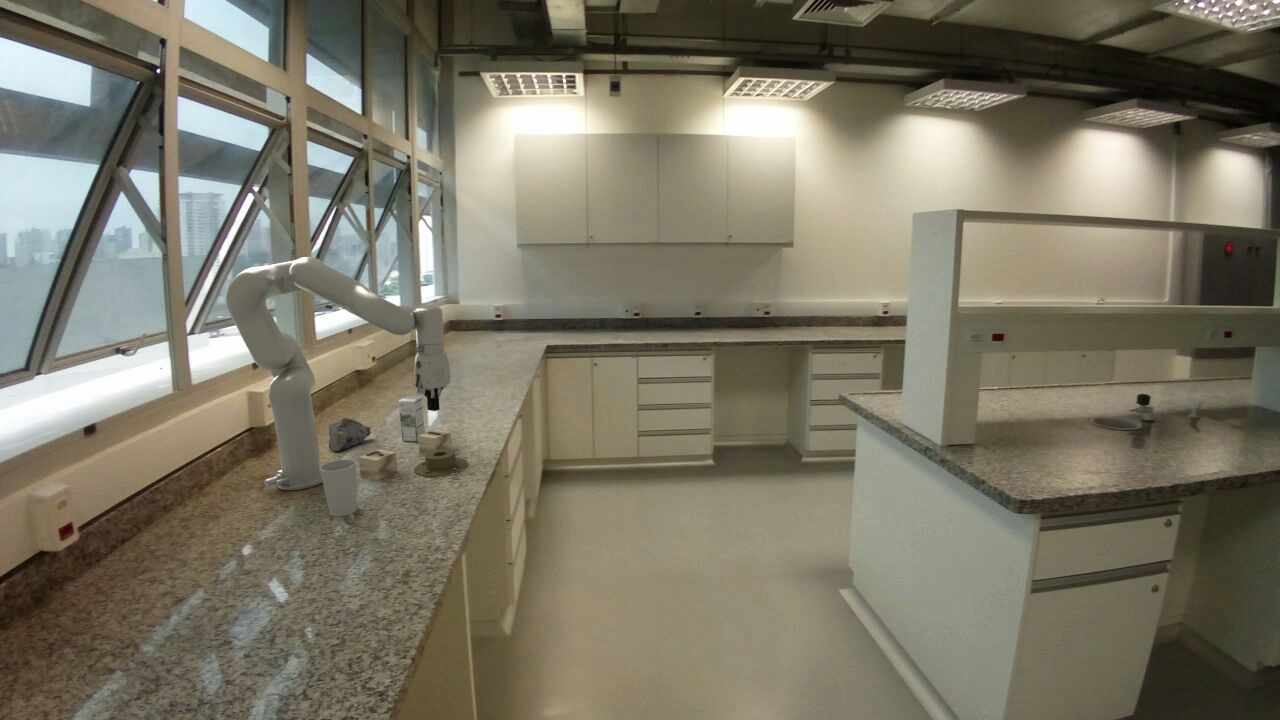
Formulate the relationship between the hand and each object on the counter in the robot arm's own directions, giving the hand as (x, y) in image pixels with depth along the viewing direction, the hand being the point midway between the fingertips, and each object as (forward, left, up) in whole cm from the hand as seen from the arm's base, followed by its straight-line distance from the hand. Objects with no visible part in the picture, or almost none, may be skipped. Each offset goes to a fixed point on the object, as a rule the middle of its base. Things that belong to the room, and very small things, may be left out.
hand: (433, 409), depth 174 cm
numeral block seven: (-13, +9, -17) cm, 23 cm away
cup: (-34, -3, -17) cm, 38 cm away
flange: (-2, -4, -17) cm, 18 cm away
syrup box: (+14, +24, -17) cm, 33 cm away
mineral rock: (0, +39, -17) cm, 42 cm away
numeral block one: (+8, +8, -17) cm, 20 cm away
